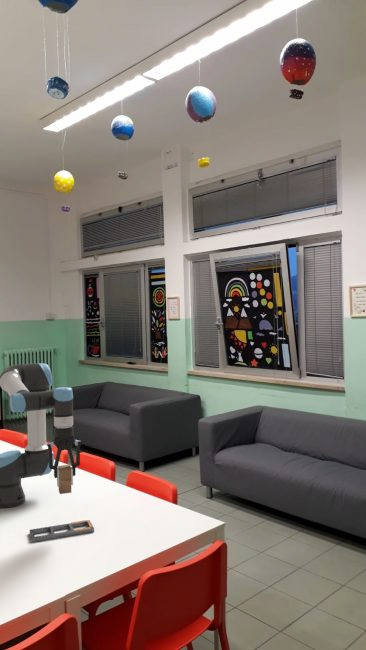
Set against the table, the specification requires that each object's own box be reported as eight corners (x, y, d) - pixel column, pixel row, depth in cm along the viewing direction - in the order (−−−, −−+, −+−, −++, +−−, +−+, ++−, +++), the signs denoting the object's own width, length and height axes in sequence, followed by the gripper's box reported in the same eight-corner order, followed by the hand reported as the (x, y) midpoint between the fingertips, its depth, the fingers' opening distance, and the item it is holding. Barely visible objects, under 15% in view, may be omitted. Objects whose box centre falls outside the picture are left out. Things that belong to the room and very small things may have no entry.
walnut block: (58, 490, 204) (58, 465, 204) (70, 489, 205) (69, 464, 205) (59, 494, 199) (59, 468, 199) (71, 492, 201) (70, 467, 201)
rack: (29, 533, 202) (29, 529, 202) (89, 523, 211) (89, 519, 211) (31, 542, 194) (31, 538, 194) (94, 531, 202) (94, 527, 202)
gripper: (41, 430, 196) (42, 490, 196) (87, 426, 202) (88, 484, 202) (40, 426, 203) (41, 484, 203) (84, 423, 209) (85, 479, 209)
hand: (65, 484), depth 202 cm, fingers closed on walnut block, 4 cm apart
